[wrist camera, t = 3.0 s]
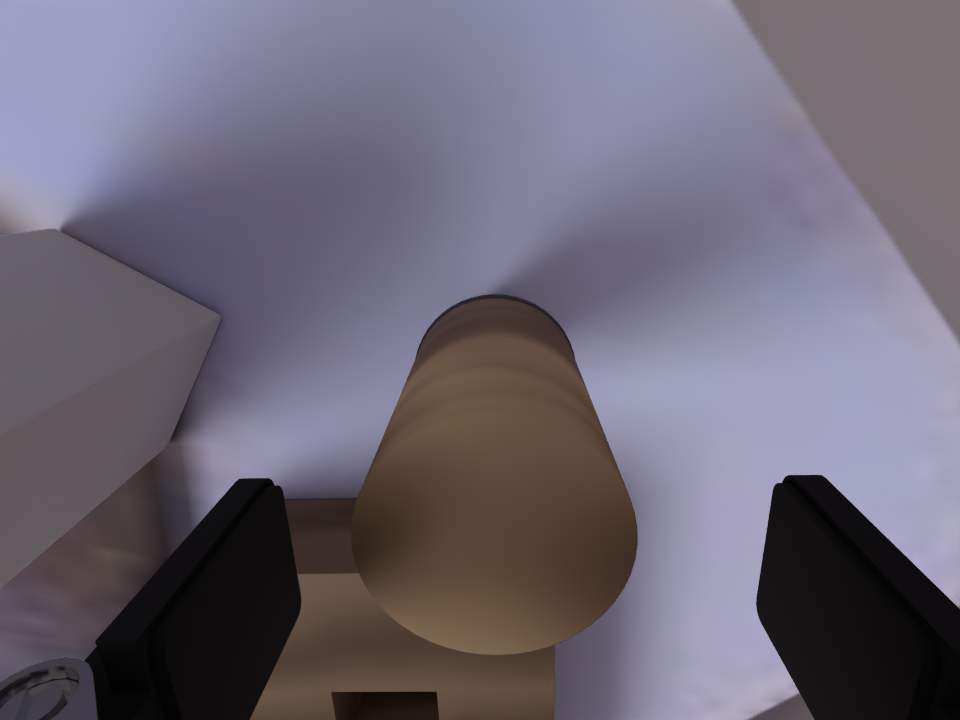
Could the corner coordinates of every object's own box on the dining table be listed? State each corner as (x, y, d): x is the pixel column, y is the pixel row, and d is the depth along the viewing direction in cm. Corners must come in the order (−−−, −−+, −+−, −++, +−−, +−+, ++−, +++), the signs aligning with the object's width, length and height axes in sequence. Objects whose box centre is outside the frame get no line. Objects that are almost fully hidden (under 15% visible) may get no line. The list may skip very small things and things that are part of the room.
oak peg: (426, 270, 22) (330, 416, 9) (560, 265, 22) (650, 408, 9) (435, 393, 24) (364, 657, 11) (559, 390, 24) (632, 655, 11)
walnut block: (243, 500, 26) (186, 575, 21) (544, 495, 25) (555, 571, 21) (295, 749, 31) (259, 853, 27) (544, 750, 31) (552, 855, 26)
